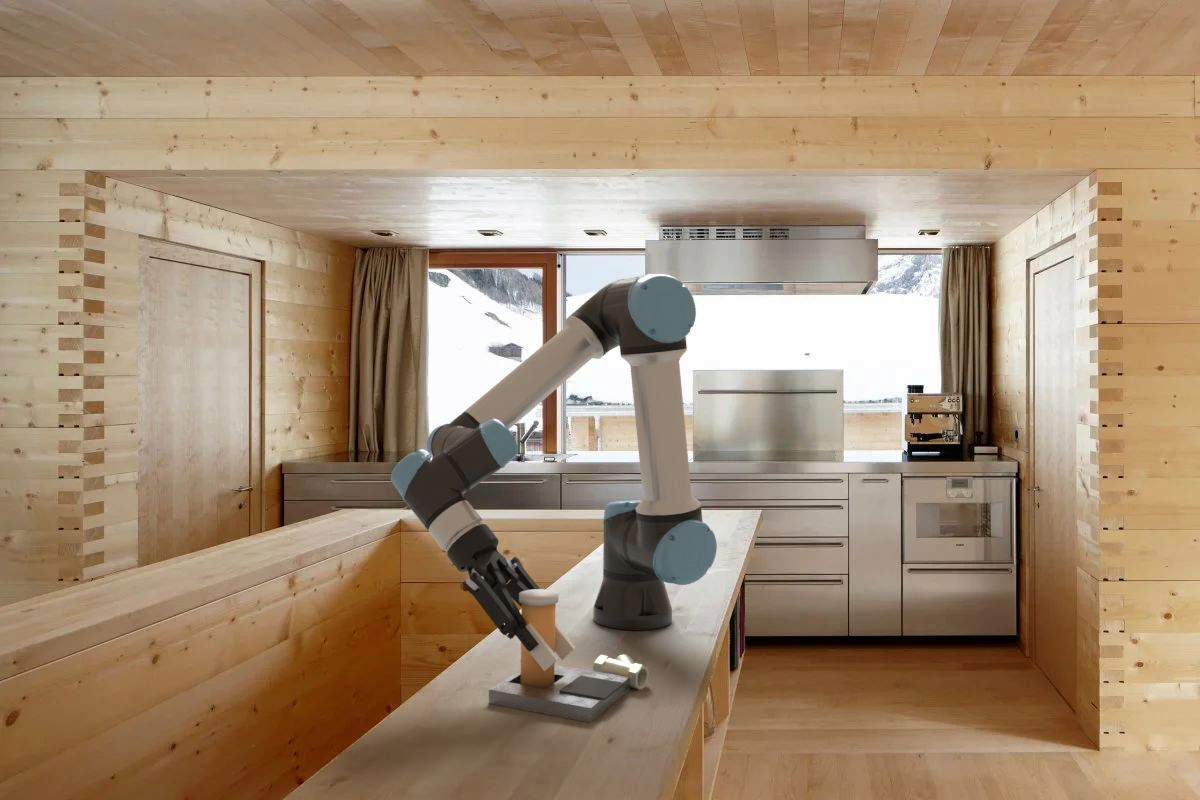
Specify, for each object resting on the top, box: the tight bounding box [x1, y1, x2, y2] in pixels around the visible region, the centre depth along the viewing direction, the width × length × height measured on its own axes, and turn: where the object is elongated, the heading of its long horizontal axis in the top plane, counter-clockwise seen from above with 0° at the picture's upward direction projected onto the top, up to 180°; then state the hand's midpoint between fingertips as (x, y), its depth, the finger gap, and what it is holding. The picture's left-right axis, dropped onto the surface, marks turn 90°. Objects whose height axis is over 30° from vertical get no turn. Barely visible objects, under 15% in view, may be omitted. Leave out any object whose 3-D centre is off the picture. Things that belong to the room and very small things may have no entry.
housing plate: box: [488, 664, 631, 723], centre depth 134 cm, size 14×16×2 cm
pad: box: [559, 675, 624, 700], centre depth 131 cm, size 7×7×1 cm
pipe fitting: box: [592, 654, 650, 691], centre depth 141 cm, size 8×4×7 cm
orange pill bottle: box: [519, 588, 559, 689], centre depth 135 cm, size 6×6×14 cm
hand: (560, 659), depth 134 cm, fingers closed on orange pill bottle, 5 cm apart
